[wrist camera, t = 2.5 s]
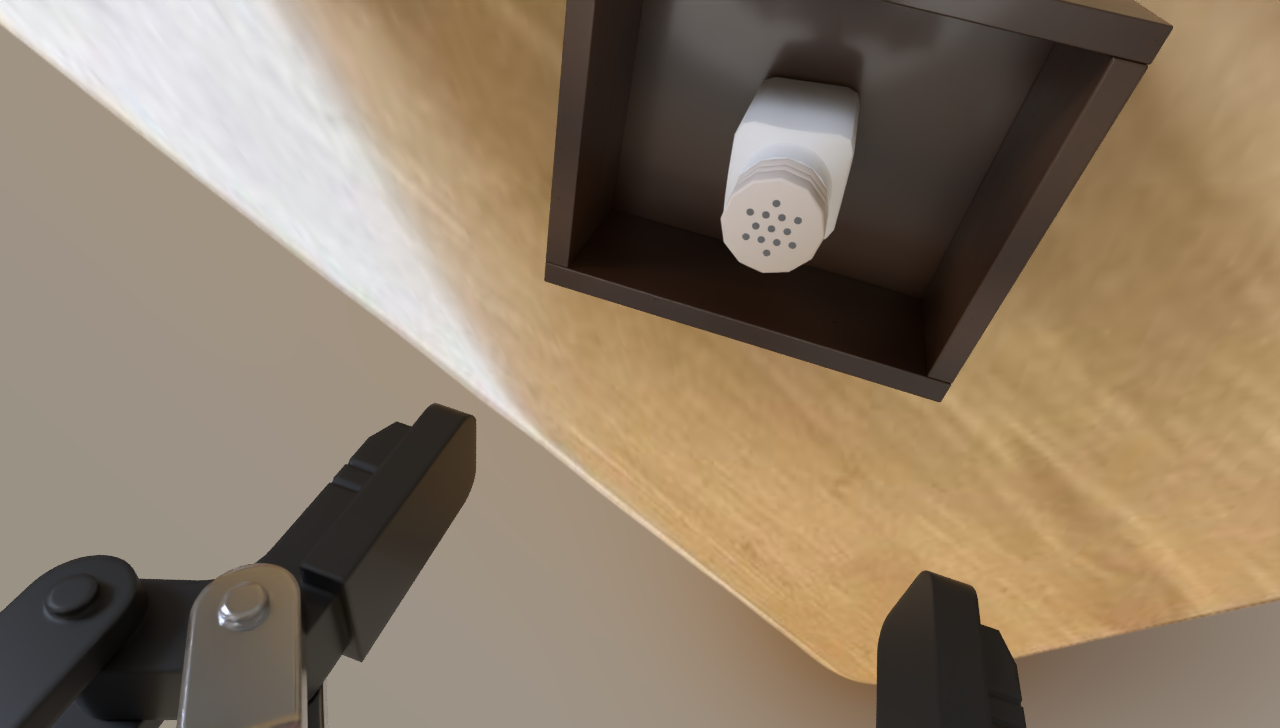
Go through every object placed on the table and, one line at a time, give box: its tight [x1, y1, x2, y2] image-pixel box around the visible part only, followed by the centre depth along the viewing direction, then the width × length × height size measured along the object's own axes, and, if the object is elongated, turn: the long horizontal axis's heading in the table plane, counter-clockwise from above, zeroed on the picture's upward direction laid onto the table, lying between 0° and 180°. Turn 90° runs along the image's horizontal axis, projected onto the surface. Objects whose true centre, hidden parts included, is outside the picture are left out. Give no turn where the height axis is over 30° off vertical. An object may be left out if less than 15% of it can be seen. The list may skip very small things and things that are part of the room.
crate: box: [544, 0, 1173, 402], centre depth 26 cm, size 14×17×6 cm
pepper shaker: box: [721, 77, 860, 273], centre depth 24 cm, size 4×4×10 cm
